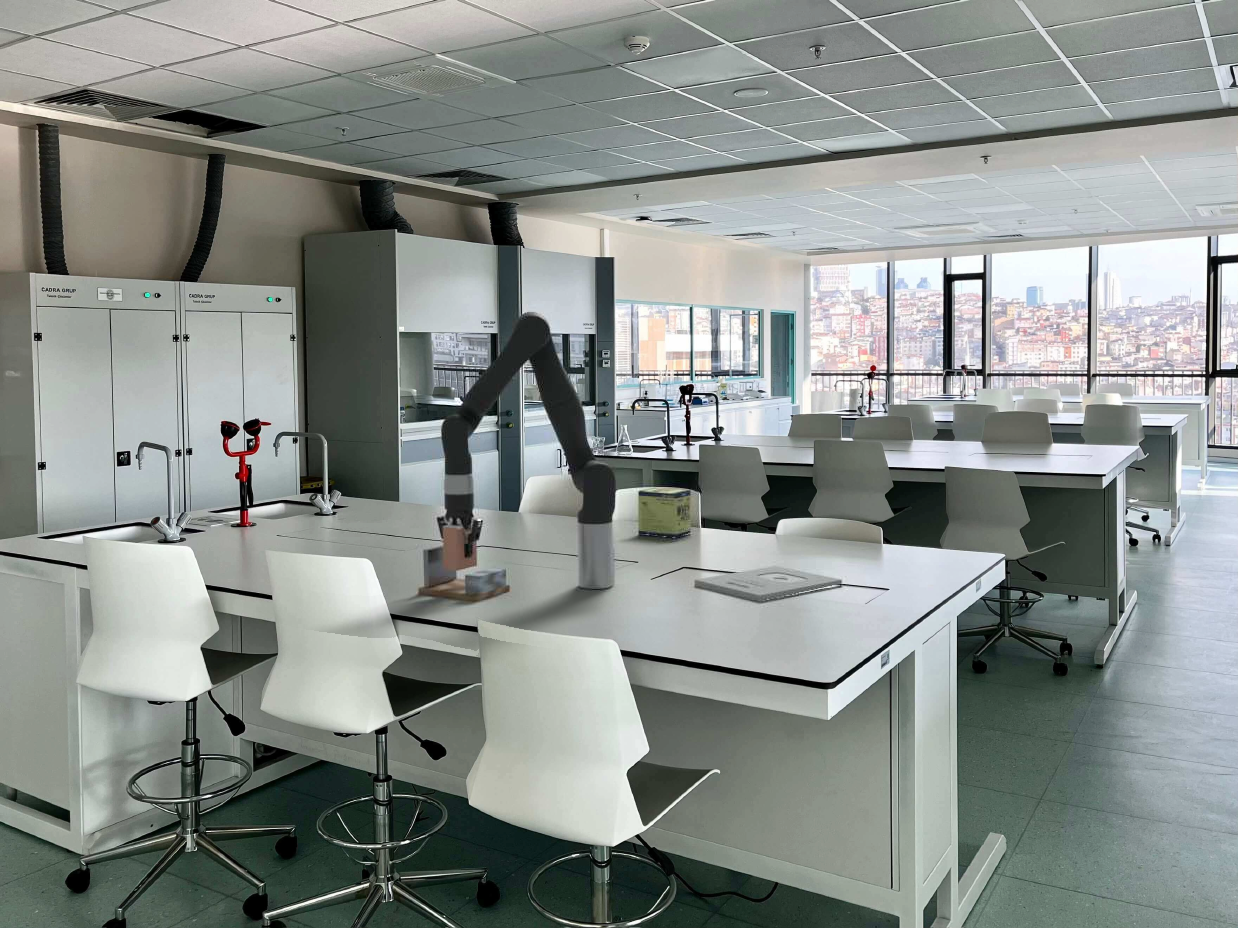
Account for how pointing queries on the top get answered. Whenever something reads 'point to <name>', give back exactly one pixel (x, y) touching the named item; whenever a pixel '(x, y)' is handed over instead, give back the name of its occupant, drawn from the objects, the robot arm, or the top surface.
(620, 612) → the top surface
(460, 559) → the orange upright rectangular block
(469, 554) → the robot arm
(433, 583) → the bookend
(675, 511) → the protein box
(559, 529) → the top surface
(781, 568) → the award plaque
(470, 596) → the rack
